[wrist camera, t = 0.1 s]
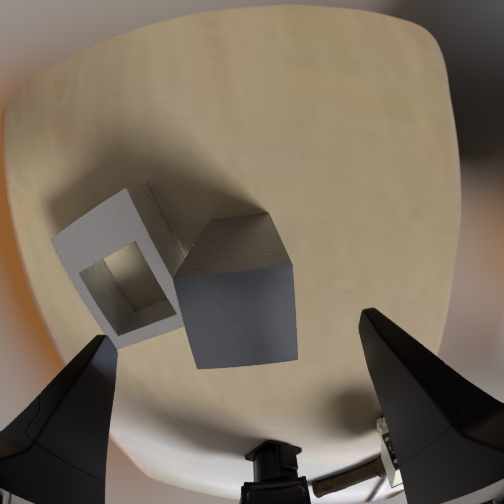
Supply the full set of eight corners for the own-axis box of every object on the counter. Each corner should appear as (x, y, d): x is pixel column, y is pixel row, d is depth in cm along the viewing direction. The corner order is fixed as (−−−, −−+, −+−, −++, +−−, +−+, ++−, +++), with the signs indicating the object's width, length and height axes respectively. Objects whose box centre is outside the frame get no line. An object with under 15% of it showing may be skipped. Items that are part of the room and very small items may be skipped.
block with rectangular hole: (205, 295, 25) (197, 321, 21) (132, 324, 26) (116, 349, 22) (147, 182, 22) (125, 187, 18) (76, 227, 23) (50, 239, 19)
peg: (274, 268, 25) (297, 359, 13) (218, 275, 25) (197, 369, 13) (269, 213, 23) (292, 264, 11) (209, 220, 23) (172, 278, 11)
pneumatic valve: (372, 441, 35) (392, 496, 23) (370, 406, 31) (399, 472, 20) (402, 429, 34) (426, 480, 23) (405, 390, 31) (440, 451, 19)
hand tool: (315, 485, 40) (318, 502, 35) (309, 480, 39) (313, 498, 34) (402, 450, 38) (409, 467, 33) (401, 444, 37) (409, 461, 32)
